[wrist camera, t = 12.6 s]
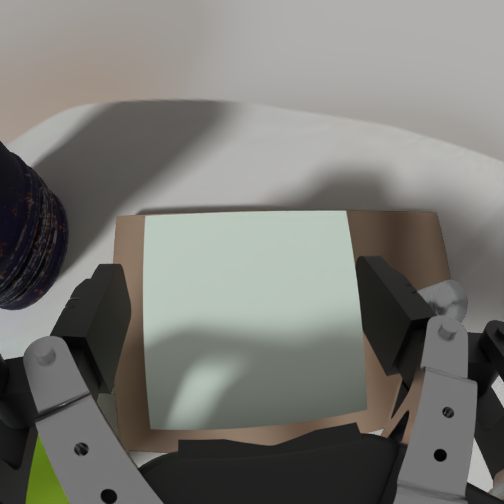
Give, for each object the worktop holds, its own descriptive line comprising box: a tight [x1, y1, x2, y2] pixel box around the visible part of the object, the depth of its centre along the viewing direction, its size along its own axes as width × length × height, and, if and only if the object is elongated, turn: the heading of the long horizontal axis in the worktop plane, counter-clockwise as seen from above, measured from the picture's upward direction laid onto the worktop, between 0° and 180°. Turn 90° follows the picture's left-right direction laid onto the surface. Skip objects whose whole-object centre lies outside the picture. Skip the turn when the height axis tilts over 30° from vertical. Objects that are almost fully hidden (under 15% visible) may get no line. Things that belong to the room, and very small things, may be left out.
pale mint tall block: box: [143, 211, 367, 430], centre depth 12 cm, size 5×5×10 cm
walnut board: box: [113, 210, 451, 453], centre depth 18 cm, size 22×14×2 cm, turn 93°
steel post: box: [417, 280, 467, 322], centre depth 14 cm, size 2×2×6 cm
